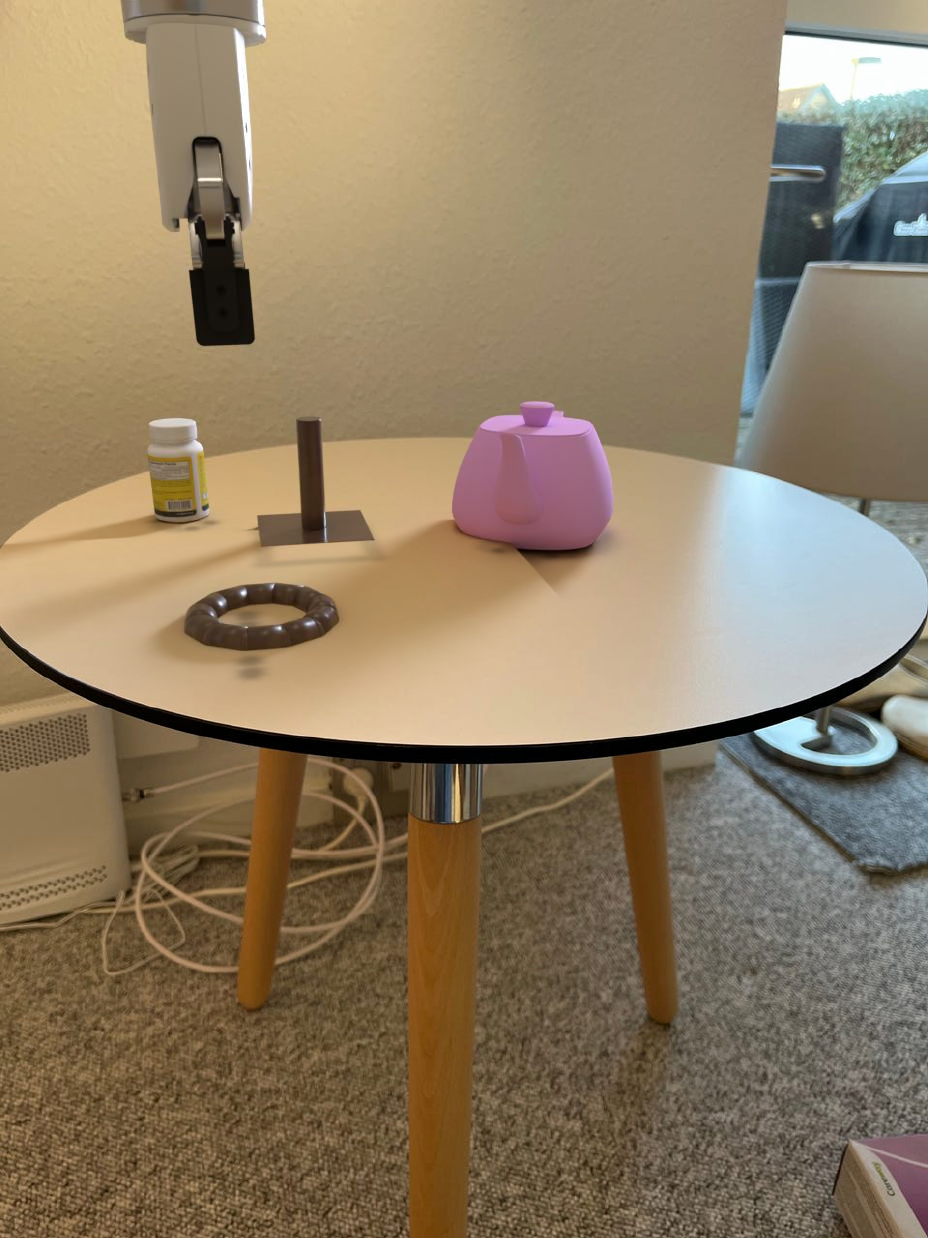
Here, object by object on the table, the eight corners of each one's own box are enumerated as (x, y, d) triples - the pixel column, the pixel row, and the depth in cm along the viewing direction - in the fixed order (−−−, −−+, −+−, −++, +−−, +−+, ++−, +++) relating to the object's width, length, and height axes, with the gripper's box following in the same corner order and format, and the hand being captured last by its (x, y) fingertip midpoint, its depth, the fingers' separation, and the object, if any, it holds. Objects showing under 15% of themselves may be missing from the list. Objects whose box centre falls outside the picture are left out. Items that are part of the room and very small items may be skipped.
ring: (183, 670, 58) (180, 639, 57) (188, 612, 66) (185, 584, 66) (346, 657, 60) (345, 626, 59) (330, 601, 68) (329, 574, 68)
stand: (262, 558, 77) (253, 431, 74) (257, 526, 85) (249, 410, 82) (375, 551, 79) (372, 427, 75) (360, 520, 87) (357, 407, 84)
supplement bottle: (186, 506, 91) (177, 415, 88) (220, 514, 89) (212, 421, 85) (143, 517, 88) (132, 422, 84) (177, 526, 85) (167, 429, 82)
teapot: (420, 565, 76) (419, 421, 72) (483, 500, 94) (485, 382, 90) (592, 581, 73) (601, 432, 69) (623, 511, 91) (631, 389, 87)
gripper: (134, 34, 60) (168, 324, 67) (103, -32, 45) (153, 355, 51) (258, 37, 62) (280, 320, 68) (271, -26, 46) (298, 350, 53)
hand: (225, 335), depth 60 cm, fingers open, 9 cm apart
